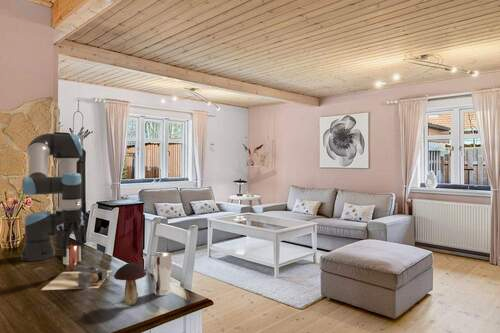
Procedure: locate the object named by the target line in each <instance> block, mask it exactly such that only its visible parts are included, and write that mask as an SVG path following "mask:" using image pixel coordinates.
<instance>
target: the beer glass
mask: <svg viewBox="0 0 500 333" xmlns="http://www.w3.org/2000/svg"><path fill="white" fill-rule="evenodd" d="M152 263H153V268H152V269H153V275H154V281H155V288H154V295H155V296H160V297H163V296H164V297H165V296H167V295H170V294H171V292H172V290H171V285H170V284H171V275H172V270H173V269H172V268H173V259H172V253H171V252H168V251H163V252H162V251H161V252H160V251H159V252H157V253H154V254H153V262H152Z"/></svg>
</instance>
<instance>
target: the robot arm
mask: <svg viewBox="0 0 500 333" xmlns="http://www.w3.org/2000/svg"><path fill="white" fill-rule="evenodd" d="M27 155H28V156H29V158H28V159H29V161H28V175H27V177H23V178H22V181H21V190H22V191H21V192H22V194H23V195H25V196H26V195H28V196H30V195H32V196H34V195H49V194H50V195H55V194H56V195H57V194H58V207H57V208H56V209H55V213H52V211H51V210H45V211H44V210H43V211H37V212H34V213H30V214H27V215H26V216H25V218H24V246H23V248H22V251H21V255H20V260H21V261H24V262H37V261H43V260H48V259H51V258H53V257H55V256H56V249H59V250H60V251H61V258H62V264H63V265H65V266H67V265H68V264H69V249H67V246H69V241H70V238H71V237H70V236H71V235H74V239H75V243H76V245H77V262H81V261H82V252H83V246H85V244H86V243H87V224H88V221H86V220H84V217H83V216H84V213H83V211H82V174H81V173H79V172H77V168H78V167H77V162H79V160H80V157H82V156H83V146H82V139H81V137H80V135H79V134H72V133H42V134H40V135H37V136H36V137H35V138H33V139H32V140H31V141H30V142H29V144H28V146H27ZM49 156H54V157H55V158H54V159H55V160H56V161H57V162H58V176H48V173H49V172H48V171H49V169H48V168H49V167H48V163H49V162H48V161H49V160H48V157H49ZM52 236H54V237H55V236H56V249H55V248H54V245H53V242H52Z"/></svg>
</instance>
